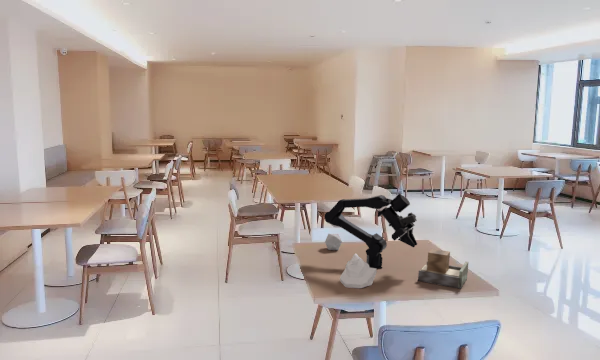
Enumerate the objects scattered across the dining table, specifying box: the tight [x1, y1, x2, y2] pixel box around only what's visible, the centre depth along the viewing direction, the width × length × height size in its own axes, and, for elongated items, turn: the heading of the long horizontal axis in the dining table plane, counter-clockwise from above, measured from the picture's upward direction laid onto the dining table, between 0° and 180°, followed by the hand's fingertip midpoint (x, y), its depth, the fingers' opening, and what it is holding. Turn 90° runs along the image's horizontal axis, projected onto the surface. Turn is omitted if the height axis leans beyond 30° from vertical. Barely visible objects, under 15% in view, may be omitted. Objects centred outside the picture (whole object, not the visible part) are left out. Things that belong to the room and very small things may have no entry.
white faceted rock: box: [339, 253, 378, 289], centre depth 203 cm, size 12×15×14 cm
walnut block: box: [426, 248, 451, 273], centre depth 214 cm, size 8×7×8 cm
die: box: [324, 233, 343, 251], centre depth 255 cm, size 8×9×10 cm
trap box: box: [417, 261, 469, 290], centre depth 214 cm, size 18×16×8 cm
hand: (415, 245), depth 218 cm, fingers open, 4 cm apart
